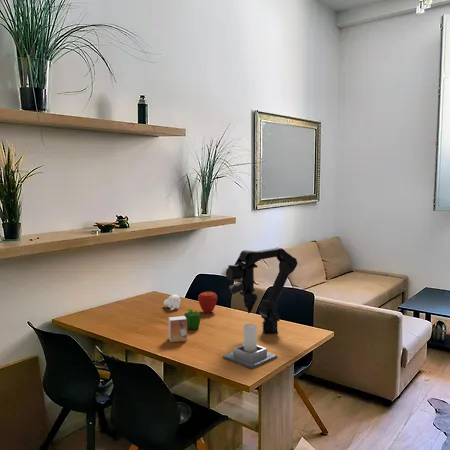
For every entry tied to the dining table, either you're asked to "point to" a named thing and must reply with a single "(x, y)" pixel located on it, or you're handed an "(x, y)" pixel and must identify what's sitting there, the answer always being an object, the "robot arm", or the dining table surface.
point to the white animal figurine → (172, 302)
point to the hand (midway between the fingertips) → (247, 310)
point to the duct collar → (250, 357)
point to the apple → (207, 301)
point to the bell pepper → (192, 319)
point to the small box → (177, 329)
